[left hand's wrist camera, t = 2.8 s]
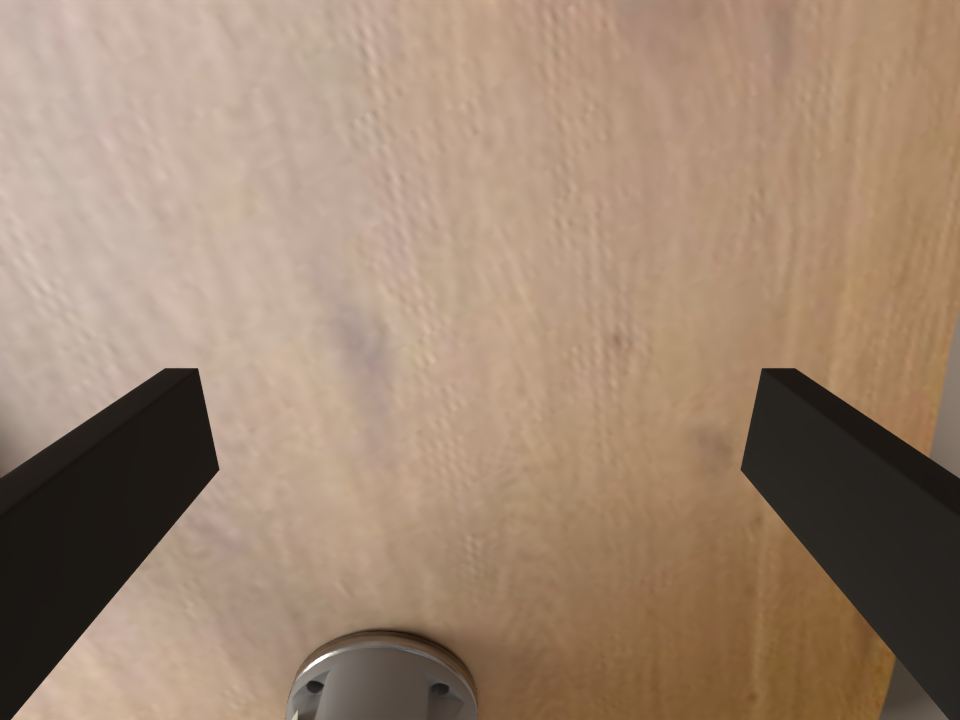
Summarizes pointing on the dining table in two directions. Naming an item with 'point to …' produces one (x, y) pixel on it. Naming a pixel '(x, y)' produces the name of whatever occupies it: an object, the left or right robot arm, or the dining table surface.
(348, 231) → the dining table surface
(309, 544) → the dining table surface
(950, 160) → the dining table surface
